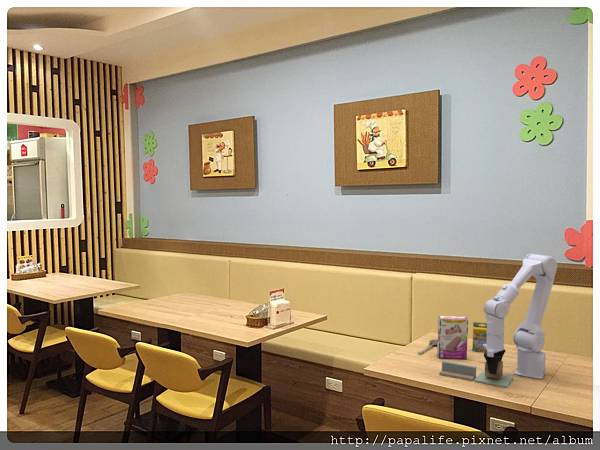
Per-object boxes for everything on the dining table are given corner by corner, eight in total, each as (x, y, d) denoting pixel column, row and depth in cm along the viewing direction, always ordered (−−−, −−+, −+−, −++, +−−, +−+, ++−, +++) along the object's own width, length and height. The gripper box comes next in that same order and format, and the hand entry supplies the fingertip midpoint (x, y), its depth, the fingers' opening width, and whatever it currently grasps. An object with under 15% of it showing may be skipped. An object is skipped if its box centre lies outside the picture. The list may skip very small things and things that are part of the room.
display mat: (513, 377, 193) (513, 376, 193) (507, 387, 184) (507, 385, 184) (481, 372, 199) (482, 370, 199) (474, 381, 190) (474, 379, 190)
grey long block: (475, 377, 194) (476, 366, 194) (472, 381, 190) (473, 370, 190) (442, 371, 200) (443, 360, 200) (439, 374, 197) (439, 364, 196)
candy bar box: (438, 358, 215) (439, 318, 214) (436, 355, 220) (437, 315, 219) (467, 359, 214) (468, 319, 212) (465, 355, 219) (465, 316, 217)
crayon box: (472, 351, 225) (473, 323, 224) (472, 349, 228) (473, 322, 227) (490, 352, 223) (491, 325, 222) (490, 350, 225) (491, 323, 225)
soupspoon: (447, 346, 235) (433, 344, 239) (447, 338, 235) (433, 336, 239) (426, 357, 218) (411, 354, 222) (426, 349, 218) (411, 346, 222)
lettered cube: (502, 374, 192) (502, 360, 192) (499, 379, 188) (499, 364, 188) (488, 372, 195) (488, 358, 195) (484, 376, 191) (485, 362, 191)
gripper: (488, 327, 199) (487, 363, 200) (478, 337, 186) (477, 375, 187) (508, 330, 195) (507, 367, 196) (499, 340, 183) (498, 379, 184)
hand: (494, 371), depth 192 cm, fingers closed on lettered cube, 5 cm apart
